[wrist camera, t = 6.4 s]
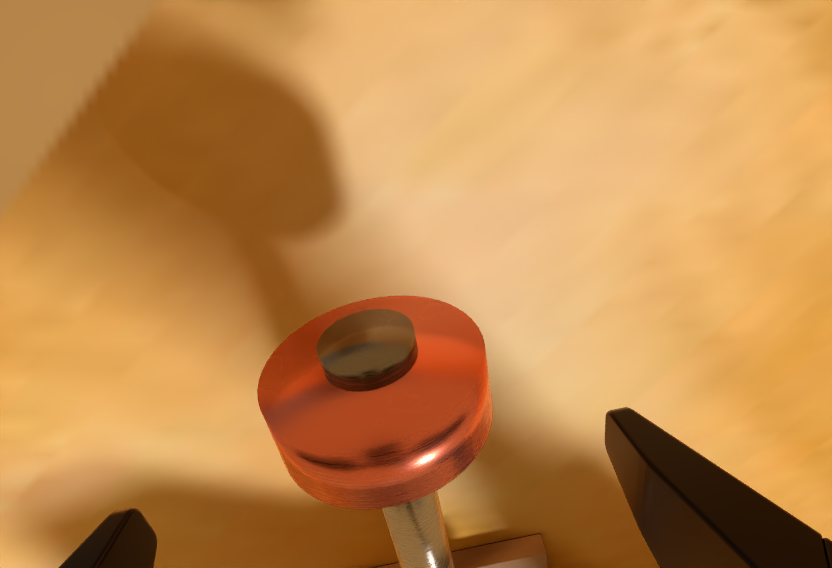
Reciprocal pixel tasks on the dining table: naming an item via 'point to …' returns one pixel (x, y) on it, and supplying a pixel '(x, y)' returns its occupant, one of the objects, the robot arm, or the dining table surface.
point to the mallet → (382, 412)
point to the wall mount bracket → (501, 555)
